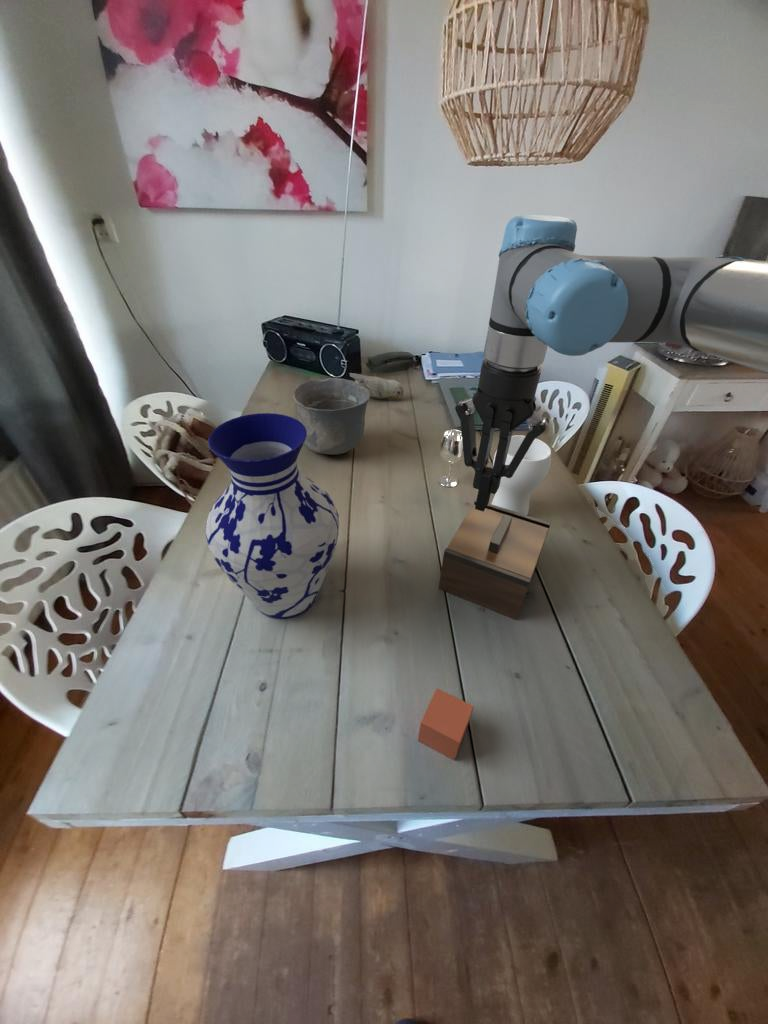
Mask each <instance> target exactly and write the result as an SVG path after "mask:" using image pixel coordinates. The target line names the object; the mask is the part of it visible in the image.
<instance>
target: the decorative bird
mask: <svg viewBox="0 0 768 1024" xmlns="http://www.w3.org/2000/svg"><path fill="white" fill-rule="evenodd" d="M349 377H350V378H352V379H354V382H356V383H359V387H361V386H362V387H365V389H367V390H368V391H369V393H370V398H375V399H388V398H389V397H391V396H392V397H396V398H397V399H399V400H401V401H403V399H404V387H403V385H402V383H401V382H399V381H398V380H395V379H387V378H383V377H379V376H372V375H365V374H360V373H355V372H353V373H352V372H349Z"/></svg>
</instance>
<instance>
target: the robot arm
mask: <svg viewBox="0 0 768 1024" xmlns="http://www.w3.org/2000/svg"><path fill="white" fill-rule="evenodd" d="M577 227H578V225H577V223H576V221H575V220H574V219H571V218H570V217H564V216H557V215H543V214H522V215H521V214H520V215H516V216H514V217H512V218H510V220H509V221H508V222H507V224H506V226H505V230H504V234H503V239H502V242H501V247H500V250H499V251H498V258H499V260H498V266H497V271H496V278H495V283H494V290H493V297H492V302H491V308H490V315H489V316H490V317H489V320H488V327H487V332H486V337H485V342H484V347H483V357H484V359H483V360H482V362H481V367H480V373H479V377H478V378H479V379H478V384H477V389H476V391H475V393H474V394H473V395H472V397H470V398H462V399H461V400H460V401H459V402H458V404H456V405H455V407H454V409H455V412H456V415H457V417H458V419H459V421H460V431H461V432H462V443H463V453H464V458H463V462H464V463H463V464H464V465H465V466H466V467H468V468H469V467H471V468H472V469H473V470H474V477H473V481H472V487H473V489H476V490H478V491H477V495H476V499H475V500H476V505H475V509H477V510H480V511H483V512H484V510H485V508H486V507H487V505H488V503H489V504H490V500H491V499H490V498H491V494H492V495H495V494H496V492H497V490H498V488H499V486H500V481H501V477H506V478H511V477H512V476H513V474H514V473H515V471H516V469H517V468H518V466H519V464H520V463H521V461H522V459H523V458H524V456H525V454H526V453H527V451H528V449H529V447H530V446H531V444H532V442H533V441H534V439H535V438H536V439H538V437H539V436H542V435H543V433H544V432H545V431H546V430H547V427H548V426H549V423H550V419H549V418H548V417H545V416H544V417H542V416H541V415H540V414H539V413H538V412H537V411H536V409H537V405H536V401H535V400H536V399H535V397H536V393H537V389H538V385H539V382H540V378H541V374H542V367H541V365H543V363H544V361H545V359H546V356H547V355H546V354H547V350H548V348H551V350H553V351H554V352H556V353H558V354H561V355H564V356H568V357H577V356H584V355H587V354H588V353H591V352H593V351H595V350H597V349H601V348H602V347H604V346H605V345H607V344H608V343H660V344H663V343H664V344H673V345H678V346H680V347H684V348H687V349H690V350H692V351H693V350H694V351H697V352H700V353H704V354H708V355H710V356H713V357H717V358H719V359H722V360H725V361H728V362H731V363H734V364H737V365H740V366H743V367H746V368H750V369H752V370H756V371H758V372H761V373H765V374H768V260H760V259H759V260H756V259H750V258H745V257H741V256H714V257H701V256H699V257H697V256H695V257H693V256H692V257H691V256H686V257H685V256H684V257H681V256H679V257H678V256H677V257H675V256H673V257H672V256H671V257H666V256H664V257H662V256H661V257H660V256H659V257H658V256H635V255H634V256H633V255H632V256H631V255H630V256H629V255H587V254H578V253H576V252H575V248H576V237H577V232H578V228H577ZM475 411H476V412H477V414H478V417H479V418H480V420H481V422H482V427H481V436H480V441H479V447H477V439H476V438H477V436H476V423H475V414H474V413H475ZM527 420H529V422H528V424H527V429H528V431H527V433H526V435H524V436H525V438H524V440H523V442H522V443H521V445H520V447H519V449H518V450H517V452H516V454H515V456H514V457H513V459H512V461H511V463H510V464H509V465H505V462H506V458H507V454H508V450H509V445H510V441H511V437H512V436H513V433H514V430H516V429H517V428H518V427H520V426H521V425H522V424H523V423H524V422H526V421H527ZM496 429H498V430H499V438H498V443H497V447H496V450H497V452H496V451H495V452H496V457H495V461H494V466H493V465H492V467H490V466H488V464H489V463H490V460H489V458H490V454H491V449H492V444H493V440H494V435H495V431H496ZM477 448H478V449H477Z"/></svg>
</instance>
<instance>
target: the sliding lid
mask: <svg viewBox="0 0 768 1024" xmlns="http://www.w3.org/2000/svg"><path fill="white" fill-rule="evenodd" d="M549 531H550V527H549V528H546V527H543V526H540V525H537V524H534V523H531V522H527V521H524V520H521V519H518V518H515V517H512V516H509V515H506V514H502V513H499V512H496V511H493V510H490V509H487V508H485V510H484V512H483V511H480V510H477V509H475V505H474V503H473V504H472V506H471V508H470V509H469V510H468V512H467V513H466V516H465V517H464V519H463V521H461V524H460V526H459V527H458V528H457V531H456V532H455V534H454V535H453V537H452V539H451V540H450V542H449V544H448V545H447V547H446V549H449V550H452V551H455V552H457V553H460V554H463V555H466V556H468V557H471V558H474V559H476V560H479V561H482V562H485V563H487V564H490V565H493V566H496V567H498V568H501V569H504V570H507V571H509V572H512V573H515V574H518V575H520V576H523V577H526V578H529V579H531V578H533V576H534V573H535V570H536V567H537V565H538V562H537V561H539V559H540V556H541V553H542V550H543V548H544V545H545V542H546V539H547V536H548V533H549ZM544 541H545V542H544ZM543 544H544V545H543ZM542 547H543V548H542ZM539 555H540V556H539ZM538 558H539V559H538ZM536 564H537V565H536ZM534 569H535V570H534ZM533 572H534V573H533ZM532 575H533V576H532ZM531 580H532V579H531Z"/></svg>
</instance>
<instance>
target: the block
mask: <svg viewBox="0 0 768 1024" xmlns="http://www.w3.org/2000/svg"><path fill="white" fill-rule="evenodd" d="M474 707H475V706H474V705H472V704H470V703H468V702H467V701H464V700H462V699H461V698H459V697H456V696H454V695H453V694H450V693H448V692H446V691H444V690H442V689H440V688H438V687H436V688H435V690H434V693H433V694H432V696H431V699H430V702H429V703H428V705H427V708H426V710H425V712H424V714H423V716H422V719H421V720H420V725H419V731H418V738H417V742H419V743H420V744H423V745H425V746H427V747H428V748H430V749H432V750H434V751H436V752H438V753H440V755H443V756H445V757H447V758H449V759H450V760H453V761H455V760H456V758H457V755H458V753H459V750H460V747H461V745H462V742H463V740H464V737H465V734H466V731H467V729H468V727H469V723H470V720H471V717H472V714H473V710H474Z"/></svg>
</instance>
